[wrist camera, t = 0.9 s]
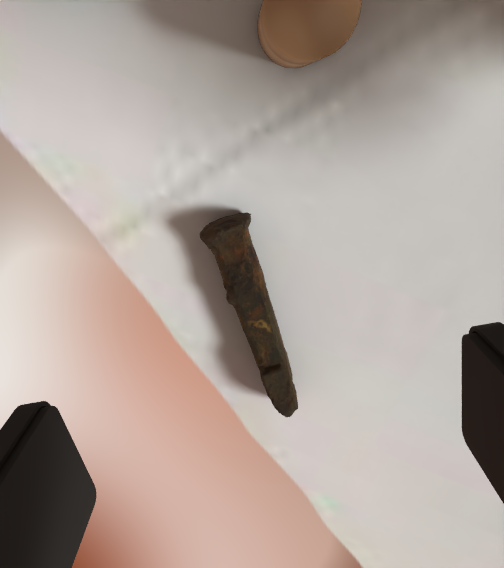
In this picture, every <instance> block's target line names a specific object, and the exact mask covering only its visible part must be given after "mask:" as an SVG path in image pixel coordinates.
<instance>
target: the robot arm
mask: <svg viewBox="0 0 504 568" xmlns="http://www.w3.org/2000/svg"><path fill="white" fill-rule="evenodd" d="M462 432H463V436H464V439H465V442H466V444H467V446H468V447H469V449H470V451H471V452H472V454H473V455H474V457H475V459H476V460H477V462H478V463H479V465H480V467H481V468H482V470H483V471H484V473H485V475H486V476H487V478H488V479H489V481H490V482H491V484H492V486H493V487H494V489H495V490H496V492H497V494H498V495H499V497H500V498H501V500H502V502H503V503H504V324H502V323H500V322H496V323H490V324H484V325H479V326H473V327H471V328H470V331H469V334H466V335H464V336H463V337H462ZM95 501H96V489H95V485H94V483H93V481H92V479H91V477H90V475H89V473H88V471H87V469H86V467H85V465H84V462H83V460H82V458H81V456H80V454H79V452H78V450H77V448H76V446H75V444H74V442H73V440H72V438H71V435H70V433H69V431H68V429H67V427H66V425H65V423H64V421H63V419H62V417H61V415H60V413H59V411H58V409H57V408H56V407H55V406H51V405H50V404H49V403H48V402H46V401H41V402H36V403H30V404H24V405H20V406H18V407H17V408H16V409H15V410H14V412H13V413H12V414H11V416H10V417H9V419H8V420H7V422H6V423H5V424H4V426H3V427H2V428H1V430H0V568H72V565H73V562H74V560H75V557H76V554H77V551H78V549H79V546H80V543H81V541H82V538H83V535H84V532H85V530H86V527H87V524H88V521H89V519H90V516H91V513H92V510H93V508H94V505H95Z"/></svg>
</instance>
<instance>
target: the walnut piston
mask: <svg viewBox="0 0 504 568" xmlns="http://www.w3.org/2000/svg"><path fill="white" fill-rule="evenodd" d="M360 10H361V0H263V2H262V6H261V9H260V13H259V18H258V36H259V40H260V44H261V46H262V48H263V50H264V52H265V53H266V54H267V56H268V57H269V58H270V59H271V60H272V61H274V62H275V63H277V64H279V65H281V66H283V67H288V68H298V67H303V66H305V65H308V64H310V63H312V62H315V61H317V60H319V59H322V58H324V57H326V56H329V55H331V54H332V53H334V52H336V51H337V50H338V49H340V48H341V47H342V46H343V45H344V44H345V43H346V41H347V40H348V39H349V38H350V36H351V34H352V33H353V31H354V29H355V27H356V25H357V22H358V19H359V15H360Z"/></svg>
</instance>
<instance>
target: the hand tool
mask: <svg viewBox="0 0 504 568" xmlns="http://www.w3.org/2000/svg"><path fill="white" fill-rule="evenodd" d="M250 215H251V214H249V213H239V214H236V215H232V216H227V217H224V218H221V219H218V220H216V221H214V222H211V223H209V225H207V226H206V227H204V229H203V230H202V231H201V232H200V238H201V240H202V241H203V242H204V243H205V244H206V245H207V246H208V248H209V249H211V251H212V252H213V254H214V255H215V257H216V260H217V263H218V265H219V268H220V271H221V275H222V278H223V281H224V287H225V289H226V291H227V300H228V302H229V303H230V304H232V305H233V306H234V308H235V309H236V311H237V314H238V317H239V319H240V322H241V325H242V327H243V330H244V332H245V334H246V337H247V339H248V342H249V344H250V346H251V349H252V352H253V354H254V357H255V360H256V363H257V365H258V368H259V370H260V373H261V379H262V382H263V385H264V387H265V389H266V392H267V395H268V397H269V398H270V399H271V401H272V404H273V405H274V407H275V408H276V410H278V412H279V413H281V414H282V415H283V416H285V417H290V416H291V415H292V414H293V413H294V411H295V410H297V409H298V402H297V395H296V390H295V386H294V384H293V382H292V372H291V367H290V364H289V360H288V356H287V352H286V350H285V348H284V345H283V341H282V338H281V334H280V330H279V327H278V324H277V320H276V317H275V314H274V310H273V307H272V304H271V302H270V298H269V295H268V291H267V288H266V283H265V280H264V275H263V272H262V269H261V266H260V264H259V260H258V257H257V255H256V252H255V249H254V247H253V244H252V241H251V237H250V234H249V230H248V227H249V224H250V222H251V216H250Z"/></svg>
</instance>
